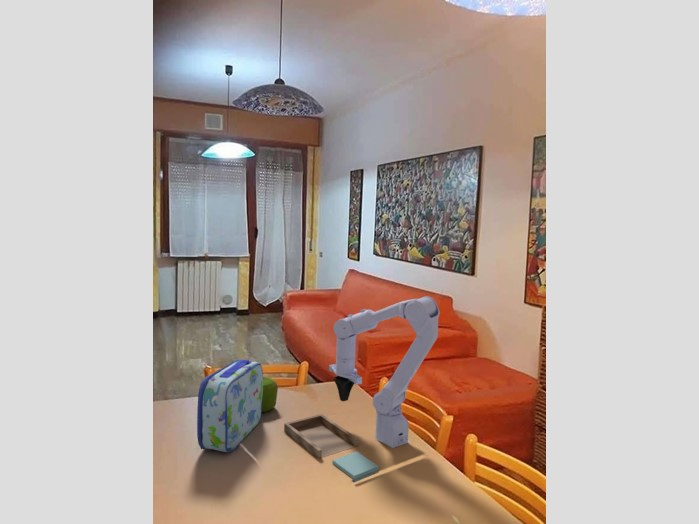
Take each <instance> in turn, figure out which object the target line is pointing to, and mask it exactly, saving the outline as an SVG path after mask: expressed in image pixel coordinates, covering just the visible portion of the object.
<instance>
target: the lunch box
mask: <svg viewBox="0 0 699 524" xmlns="http://www.w3.org/2000/svg"><path fill="white" fill-rule="evenodd" d="M263 377H264V371H263V365H262V364H261V362H258V361H251V360H249V359H240V360H239V359H236V360H233V361H232V362H230V363H229V364H227V365H225V366H223V367H221V368H219V369H218V370H216V371H214V372H213V373H211V374H209V375H207V376H206V377H204V378H203V379H202V380H201V382H200V385H199V388H198V394H197V409H196V410H197V414H196V415H197V416H196V418H197V419H196V426H197V427H196V428H197V429H196V433H197V435H196V436H197V442H198V446H199V448H200V449H201V450H205V449H207V450H215V451H218V452H225V453H230V452H233V451H235V450H236V449H237V447H238V446H239V445H240V444H241V443H242V441H243V440H244V439H245V438H246V437H247V436H248V435H249V434H250V433H251V432H252V431H253V430H254V429H255V428H256V427H257V426H258V424H259V422H260V420H261V417H262V412H261V409H262V395H263Z"/></svg>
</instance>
